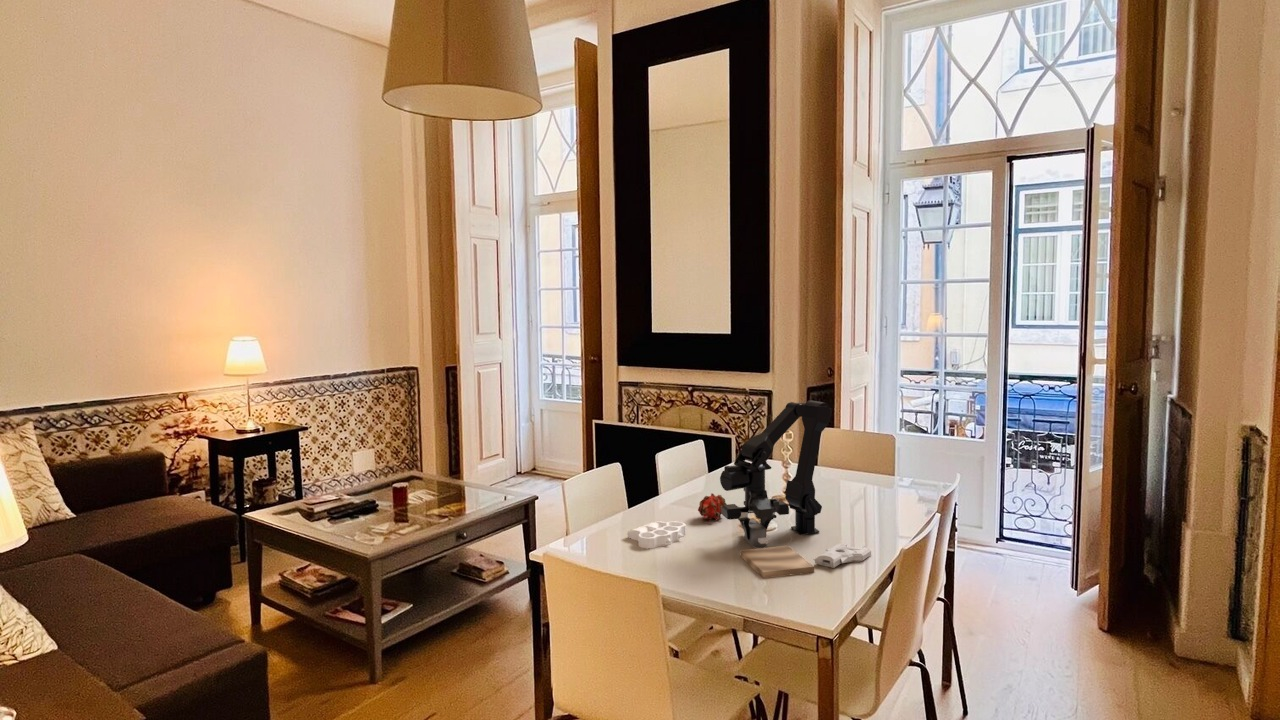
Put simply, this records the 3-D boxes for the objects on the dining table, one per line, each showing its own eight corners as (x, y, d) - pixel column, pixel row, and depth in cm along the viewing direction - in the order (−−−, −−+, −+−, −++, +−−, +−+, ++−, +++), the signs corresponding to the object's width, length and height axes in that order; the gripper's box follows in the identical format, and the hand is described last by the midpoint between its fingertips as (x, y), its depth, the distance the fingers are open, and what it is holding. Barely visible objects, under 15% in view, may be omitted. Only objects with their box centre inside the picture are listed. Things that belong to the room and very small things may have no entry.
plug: (740, 534, 209) (739, 518, 208) (752, 533, 210) (752, 517, 209) (758, 551, 195) (758, 533, 195) (771, 549, 196) (771, 532, 196)
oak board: (740, 555, 192) (740, 550, 192) (787, 550, 195) (787, 545, 195) (763, 577, 176) (763, 572, 176) (814, 572, 180) (814, 566, 179)
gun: (847, 561, 178) (811, 553, 184) (847, 574, 178) (810, 566, 184) (873, 544, 192) (838, 538, 198) (873, 557, 192) (838, 550, 198)
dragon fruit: (726, 518, 229) (704, 533, 221) (708, 500, 233) (685, 514, 225) (737, 501, 225) (715, 516, 216) (718, 483, 228) (696, 497, 220)
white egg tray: (660, 526, 219) (696, 536, 209) (619, 542, 206) (657, 553, 196) (659, 516, 219) (696, 525, 209) (619, 531, 206) (656, 541, 196)
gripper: (734, 495, 191) (734, 551, 193) (797, 490, 195) (797, 544, 197) (720, 485, 202) (721, 538, 203) (780, 480, 206) (780, 532, 207)
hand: (755, 538), depth 202 cm, fingers closed on plug, 4 cm apart
